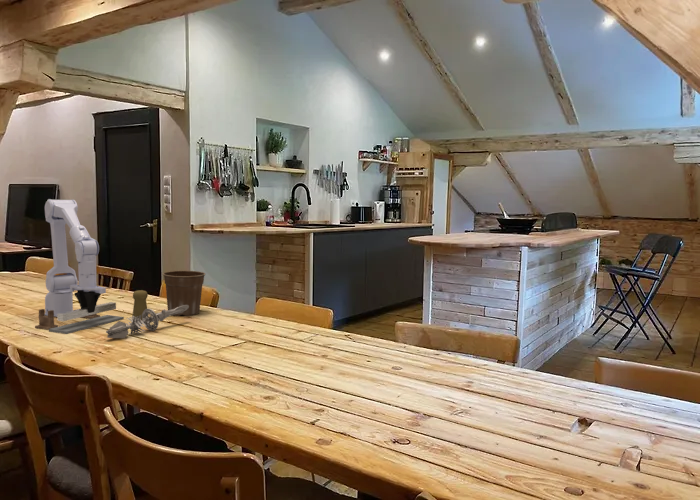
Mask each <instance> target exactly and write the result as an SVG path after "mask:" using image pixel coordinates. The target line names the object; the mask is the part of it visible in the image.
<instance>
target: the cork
mask: <svg viewBox="0 0 700 500" xmlns="http://www.w3.org/2000/svg"><path fill="white" fill-rule="evenodd" d="M132 299H133V300H134V301H133V308H132V309H133V310H132V316H134V317H137V316H138V318H139V315H141V320H142V313H143V311H144V310H145V309H148V304H147V299H148V292H147V291H146V290H143V289H141V290H135V291H133V293H132ZM132 316H131V317H132ZM148 316H149V315H148ZM148 316H147V317H148ZM134 317H132V318H134ZM135 319H136V318H135ZM131 320H133V319H131Z"/></svg>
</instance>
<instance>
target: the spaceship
mask: <svg viewBox="0 0 700 500" xmlns="http://www.w3.org/2000/svg"><path fill="white" fill-rule="evenodd" d="M188 308H189V306H188V305H182V306H180V307H177V308H176V309H172V310H168V309H167V310H166V309H165V308H164V309H162V310H161V311H160V312H155V311H154V310H153V309H152V308H147V309H145V310H144V311H143V313H142V320H141V315H139V318H138V316H137V317H134V316H129V317H127V318H126V319H127V320H128V322H124V321H122V320H118V321H116V323H114V324H113V325H112V326H110V327H109V328H108V329H107V330H106V331H105V333H106V334H107V335H106V338H108V339H109V338H110V339H125V338H126V337H127V336H128V334H129V330H130V335H133V334H140V333H143V332H146V330H144V329H143V328H144V327H145V328H146V329H147V330H148V331H150V332H154V331H156V330H157V329H158V326H159V322H164V320H166V319H168V317H171V316H174V314H179V313H182V312H184V311H186V310H187V309H188ZM147 316H148V317H147ZM132 317H134V318H132ZM135 318H136V319H135ZM132 319H133V320H132ZM129 321H130V322H129Z"/></svg>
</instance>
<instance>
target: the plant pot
mask: <svg viewBox="0 0 700 500" xmlns="http://www.w3.org/2000/svg"><path fill="white" fill-rule="evenodd" d="M162 275H163V278H164V279H163V280H164V284H165V292H166V293H165V294H166V303H167V304H166V305H167V310H172V309H176V308H177V307H180V306H182V305H188V306H189V308H188V309H187V310H186V311H184V312H182V313H179V314H174V315H173V316H176V317H177V316H178V317H179V316H184V317H187V316H189V317H190V316H195V315H198V314H199V313H200V310H201V301H202V292H203V285H204V283H205V282H204V281H205V276H206V273H205V272H203V271H198V270H173V271H172V270H171V271H165V272H162Z"/></svg>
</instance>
